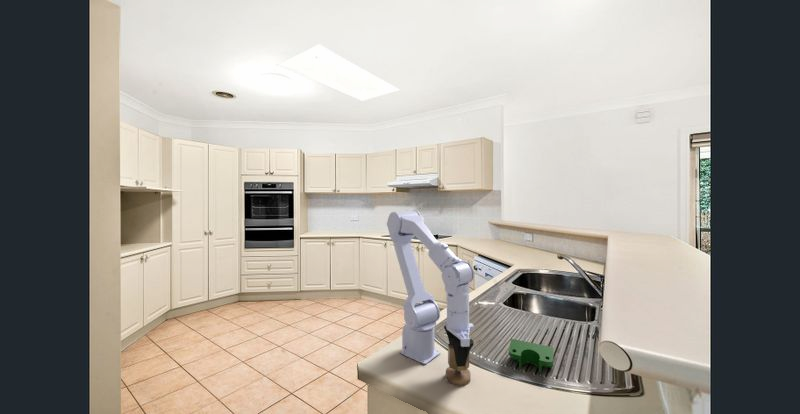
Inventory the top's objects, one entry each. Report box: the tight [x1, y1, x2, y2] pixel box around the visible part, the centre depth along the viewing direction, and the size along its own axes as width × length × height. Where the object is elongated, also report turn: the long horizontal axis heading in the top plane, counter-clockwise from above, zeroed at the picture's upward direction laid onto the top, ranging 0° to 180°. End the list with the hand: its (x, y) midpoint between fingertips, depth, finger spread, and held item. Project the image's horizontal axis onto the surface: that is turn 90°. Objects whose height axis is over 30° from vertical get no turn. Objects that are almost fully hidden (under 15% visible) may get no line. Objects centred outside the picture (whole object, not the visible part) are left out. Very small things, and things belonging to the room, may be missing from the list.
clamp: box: [508, 338, 555, 375], centre depth 85 cm, size 12×6×9 cm, turn 55°
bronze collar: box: [447, 343, 470, 371], centre depth 80 cm, size 5×5×5 cm
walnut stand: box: [445, 366, 471, 387], centre depth 80 cm, size 6×6×2 cm
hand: (458, 359), depth 80 cm, fingers closed on bronze collar, 5 cm apart
